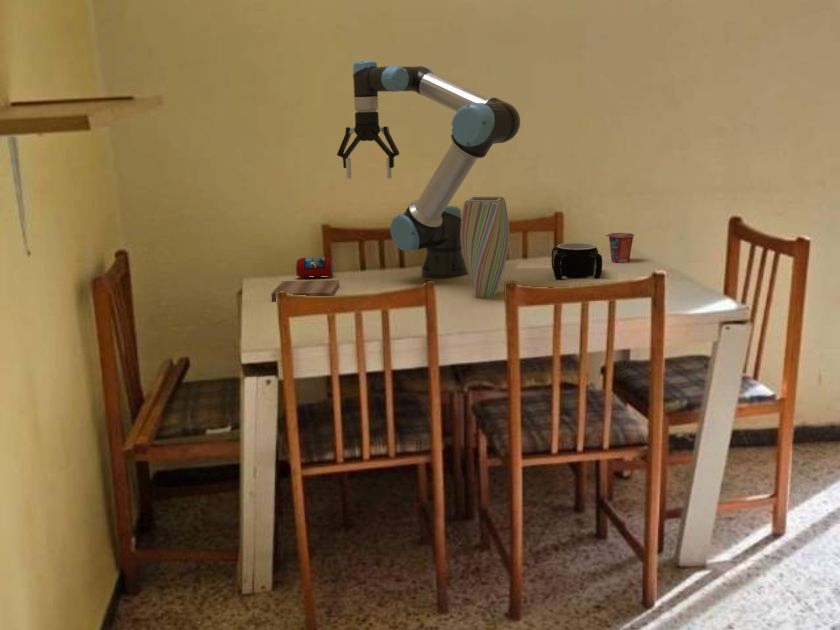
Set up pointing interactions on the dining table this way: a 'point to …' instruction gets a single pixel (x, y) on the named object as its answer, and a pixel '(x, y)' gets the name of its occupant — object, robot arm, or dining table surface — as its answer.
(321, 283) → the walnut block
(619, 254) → the cup
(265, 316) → the dining table surface
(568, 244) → the black round container
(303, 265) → the beverage can
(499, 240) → the vase
